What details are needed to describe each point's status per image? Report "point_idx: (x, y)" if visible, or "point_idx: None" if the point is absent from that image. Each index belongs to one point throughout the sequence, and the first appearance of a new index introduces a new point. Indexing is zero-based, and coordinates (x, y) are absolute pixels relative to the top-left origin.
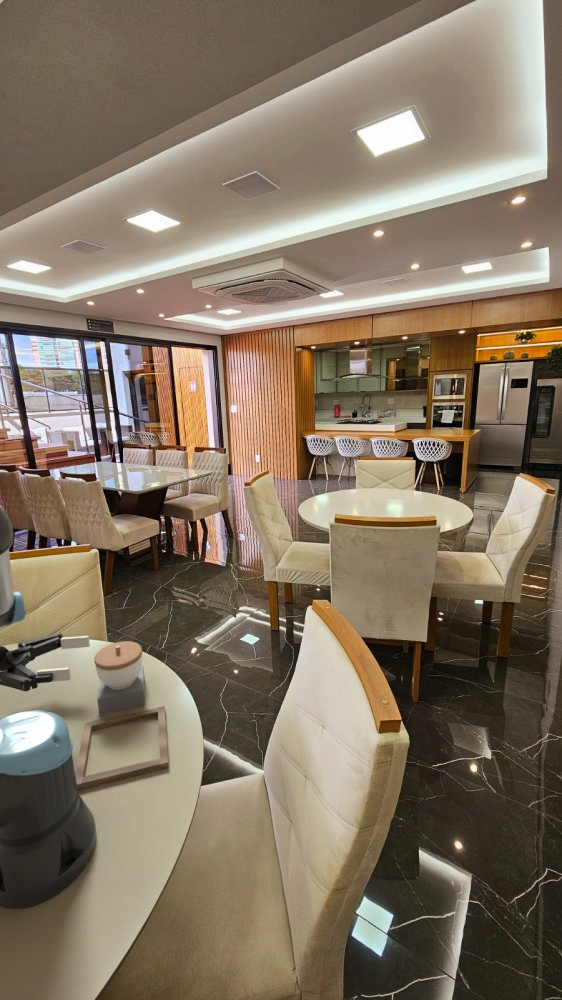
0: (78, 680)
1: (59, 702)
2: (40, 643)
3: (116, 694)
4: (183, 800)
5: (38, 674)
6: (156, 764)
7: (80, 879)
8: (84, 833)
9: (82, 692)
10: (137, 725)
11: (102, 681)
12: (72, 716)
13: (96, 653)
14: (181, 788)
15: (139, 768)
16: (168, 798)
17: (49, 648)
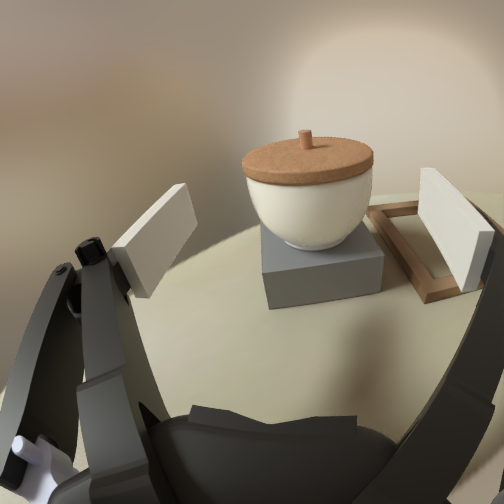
0: (197, 377)
1: (310, 407)
2: (83, 335)
3: (365, 231)
4: (488, 195)
5: (487, 242)
6: (471, 202)
7: None
8: None
9: (272, 354)
10: (405, 235)
11: (359, 218)
12: (387, 346)
13: (297, 170)
14: (479, 196)
15: (484, 212)
16: (492, 202)
17: (132, 325)
